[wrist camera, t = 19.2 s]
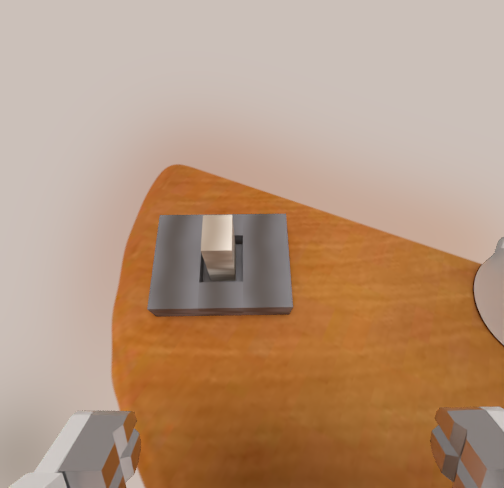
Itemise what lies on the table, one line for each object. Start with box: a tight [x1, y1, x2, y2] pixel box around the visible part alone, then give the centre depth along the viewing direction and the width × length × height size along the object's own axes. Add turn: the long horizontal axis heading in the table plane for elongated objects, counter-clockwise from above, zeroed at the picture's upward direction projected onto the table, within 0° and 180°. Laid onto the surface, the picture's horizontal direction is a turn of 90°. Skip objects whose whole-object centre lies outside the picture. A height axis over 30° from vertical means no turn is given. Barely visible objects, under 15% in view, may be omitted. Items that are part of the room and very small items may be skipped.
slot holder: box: [147, 214, 293, 316], centre depth 38 cm, size 16×12×4 cm
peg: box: [201, 215, 236, 281], centre depth 35 cm, size 3×4×9 cm
